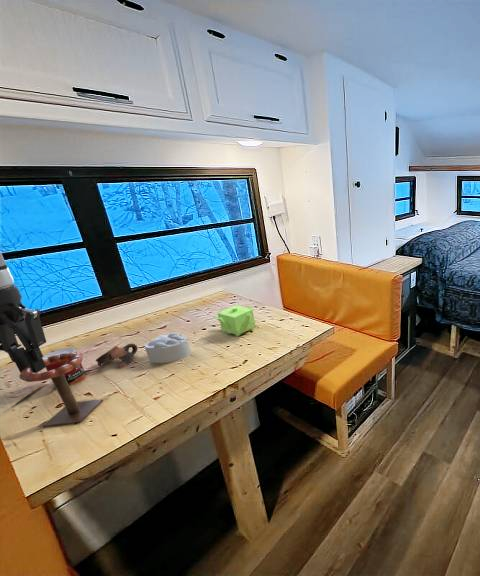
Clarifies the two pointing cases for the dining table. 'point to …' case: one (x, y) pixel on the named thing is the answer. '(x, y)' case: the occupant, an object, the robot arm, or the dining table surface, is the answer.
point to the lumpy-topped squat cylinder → (168, 348)
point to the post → (70, 405)
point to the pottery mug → (119, 355)
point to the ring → (76, 361)
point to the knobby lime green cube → (236, 320)
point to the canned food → (70, 376)
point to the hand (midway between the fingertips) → (33, 370)
